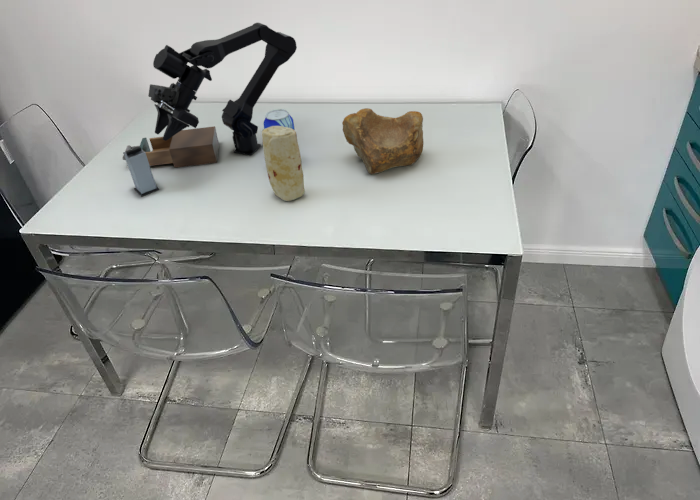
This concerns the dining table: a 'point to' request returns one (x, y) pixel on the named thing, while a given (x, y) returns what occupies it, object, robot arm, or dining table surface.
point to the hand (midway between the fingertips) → (160, 136)
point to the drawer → (155, 150)
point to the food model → (283, 162)
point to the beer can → (278, 119)
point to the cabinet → (194, 147)
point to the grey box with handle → (140, 171)
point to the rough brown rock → (384, 138)
